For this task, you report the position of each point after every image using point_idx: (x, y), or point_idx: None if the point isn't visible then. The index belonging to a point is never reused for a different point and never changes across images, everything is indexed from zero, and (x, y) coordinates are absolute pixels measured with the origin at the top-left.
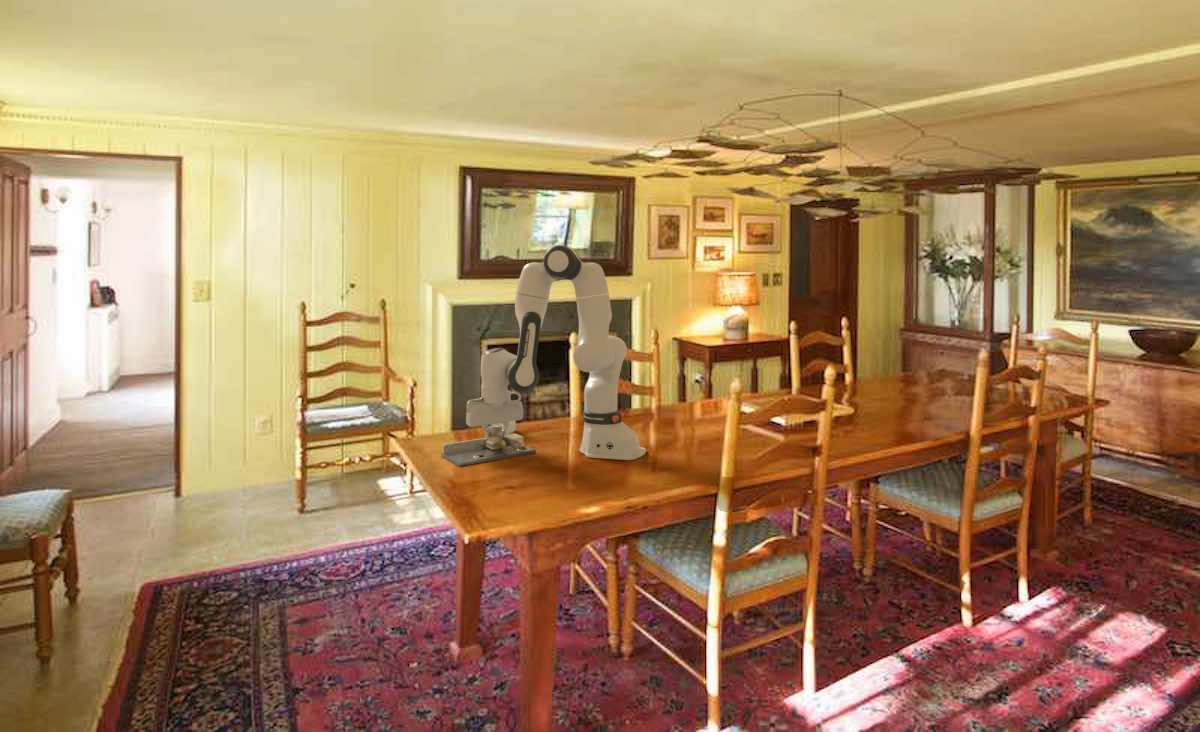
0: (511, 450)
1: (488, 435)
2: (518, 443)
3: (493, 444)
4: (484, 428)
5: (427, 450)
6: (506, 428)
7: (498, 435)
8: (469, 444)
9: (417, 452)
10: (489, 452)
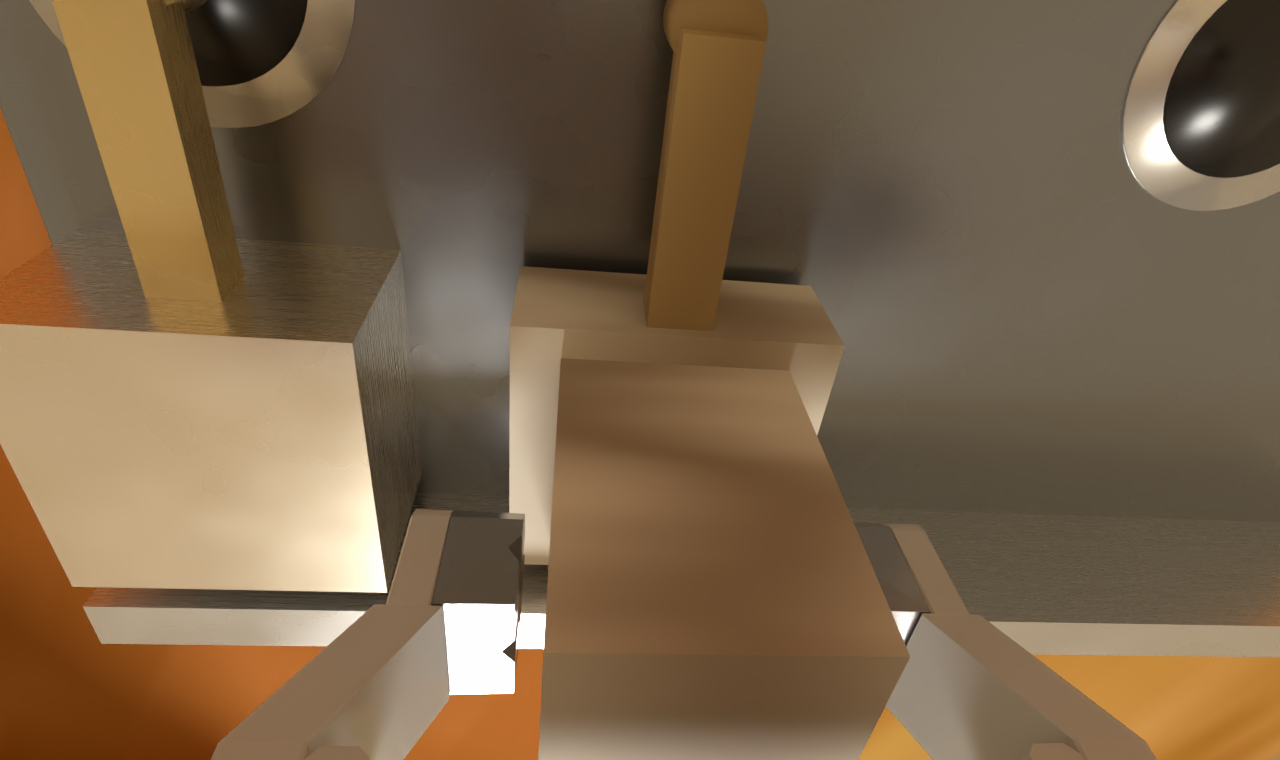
0: (498, 25)
1: (906, 555)
2: (208, 155)
3: (808, 335)
4: (1143, 744)
5: (1155, 728)
6: (345, 641)
7: (682, 470)
8: (1032, 574)
9: (1262, 721)
10: (930, 203)
